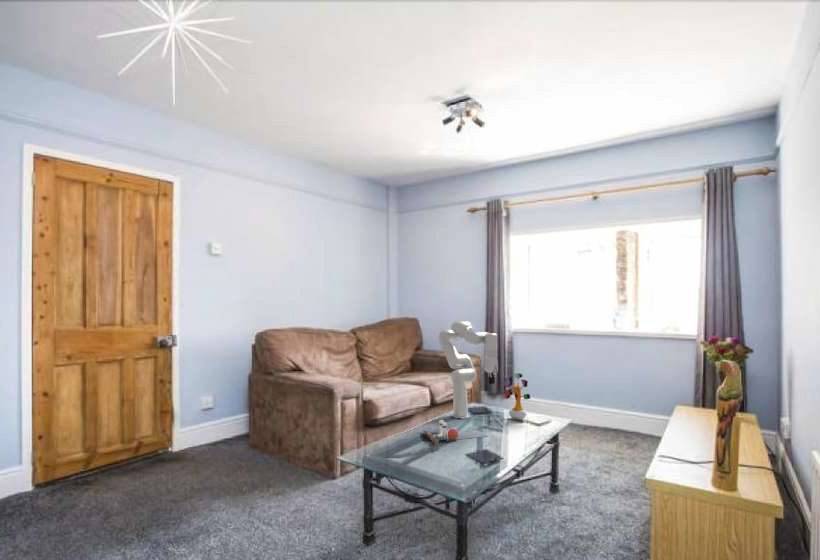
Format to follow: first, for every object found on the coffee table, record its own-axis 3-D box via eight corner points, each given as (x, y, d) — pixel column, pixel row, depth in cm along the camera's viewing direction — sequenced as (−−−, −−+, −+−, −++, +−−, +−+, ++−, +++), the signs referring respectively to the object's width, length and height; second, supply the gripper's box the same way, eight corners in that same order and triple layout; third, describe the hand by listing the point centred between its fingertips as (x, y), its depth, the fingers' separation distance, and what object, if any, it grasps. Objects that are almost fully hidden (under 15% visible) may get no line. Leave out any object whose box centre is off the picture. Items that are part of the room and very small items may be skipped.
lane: (431, 435, 253) (431, 435, 253) (479, 430, 262) (479, 430, 262) (438, 441, 243) (438, 441, 243) (487, 436, 252) (487, 436, 252)
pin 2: (441, 438, 248) (441, 422, 248) (445, 438, 249) (445, 422, 249) (443, 440, 246) (443, 423, 246) (447, 439, 246) (447, 423, 247)
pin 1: (438, 436, 253) (438, 420, 253) (442, 435, 254) (442, 420, 254) (440, 437, 250) (440, 421, 251) (444, 437, 251) (444, 421, 251)
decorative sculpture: (500, 417, 291) (500, 371, 293) (508, 415, 296) (508, 370, 297) (525, 424, 275) (524, 376, 277) (533, 421, 280) (532, 374, 281)
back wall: (424, 434, 257) (424, 429, 257) (426, 433, 257) (426, 429, 257) (435, 445, 238) (435, 440, 238) (438, 444, 238) (438, 440, 238)
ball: (443, 433, 246) (451, 425, 247) (447, 436, 250) (454, 428, 251) (451, 440, 242) (458, 432, 243) (454, 443, 247) (461, 435, 248)
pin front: (446, 436, 252) (432, 438, 249) (446, 432, 252) (432, 433, 249) (448, 438, 249) (433, 439, 246) (448, 433, 249) (433, 435, 246)
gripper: (480, 352, 275) (480, 381, 275) (491, 355, 261) (491, 386, 260) (491, 351, 277) (491, 380, 277) (502, 354, 263) (503, 385, 262)
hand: (491, 383), depth 268 cm, fingers closed
